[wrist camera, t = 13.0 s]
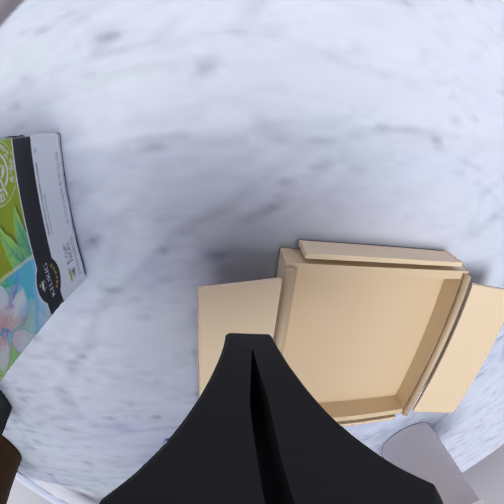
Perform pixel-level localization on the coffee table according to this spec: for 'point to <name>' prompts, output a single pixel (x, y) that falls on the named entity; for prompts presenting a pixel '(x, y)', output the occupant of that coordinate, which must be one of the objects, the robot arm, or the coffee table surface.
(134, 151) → the coffee table surface
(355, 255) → the carton
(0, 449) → the olive oil
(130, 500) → the robot arm
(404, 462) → the coffee cup
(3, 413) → the green animal figurine
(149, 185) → the coffee table surface
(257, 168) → the coffee table surface
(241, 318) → the flap near
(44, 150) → the tea box
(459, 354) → the flap far
